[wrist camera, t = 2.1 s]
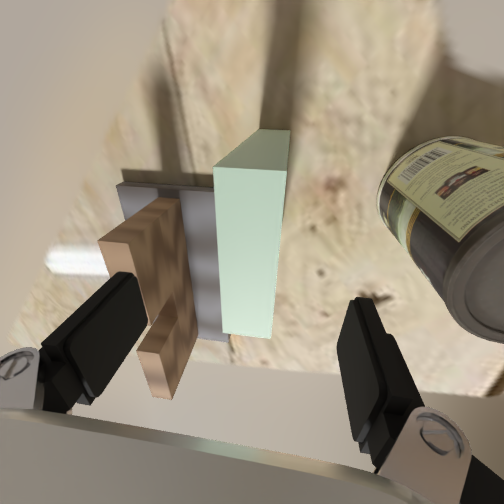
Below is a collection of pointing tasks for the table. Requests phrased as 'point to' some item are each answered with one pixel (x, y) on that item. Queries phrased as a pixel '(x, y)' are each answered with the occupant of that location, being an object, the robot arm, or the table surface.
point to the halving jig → (169, 273)
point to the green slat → (250, 230)
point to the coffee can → (453, 225)
